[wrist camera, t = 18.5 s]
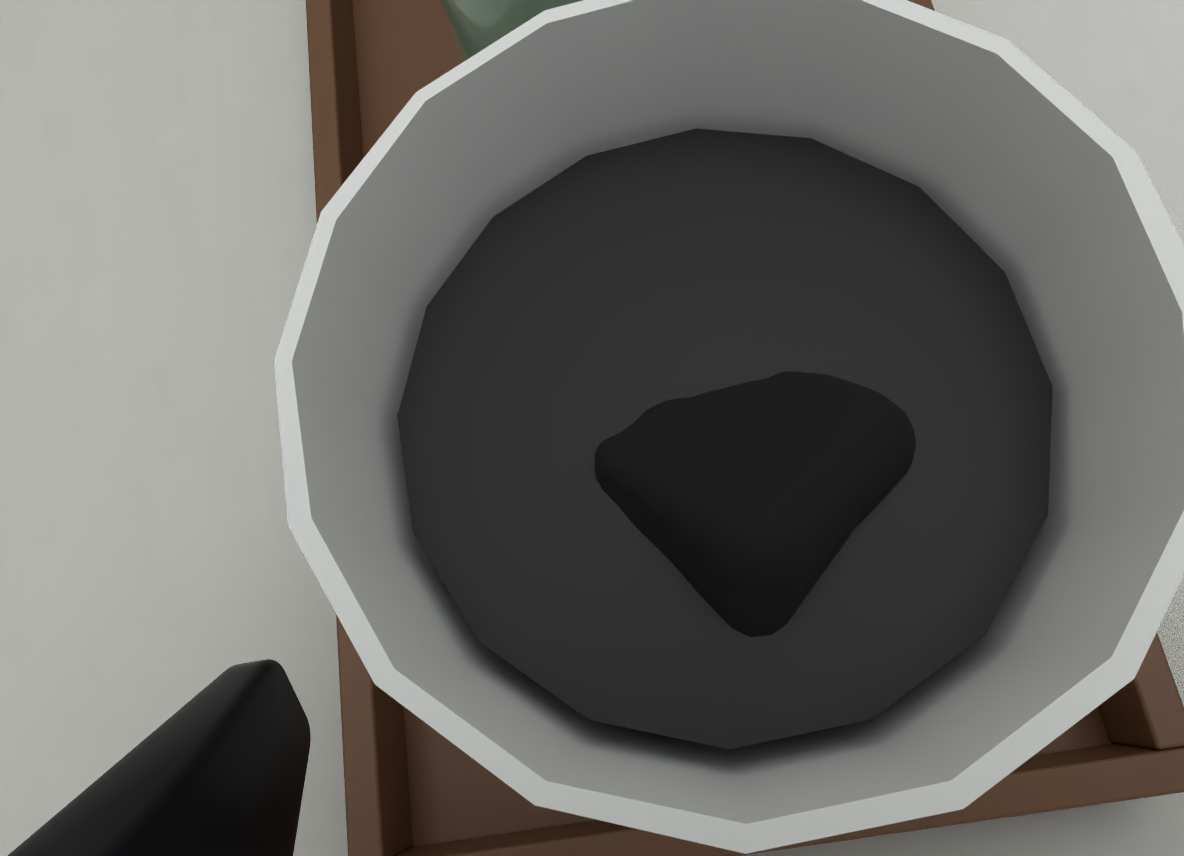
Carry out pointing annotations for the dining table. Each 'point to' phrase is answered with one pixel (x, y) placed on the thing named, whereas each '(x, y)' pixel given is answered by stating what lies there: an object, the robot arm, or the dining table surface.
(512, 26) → the green rounded shape
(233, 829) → the robot arm
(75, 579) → the dining table surface
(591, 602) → the white paper cup
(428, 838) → the tray
